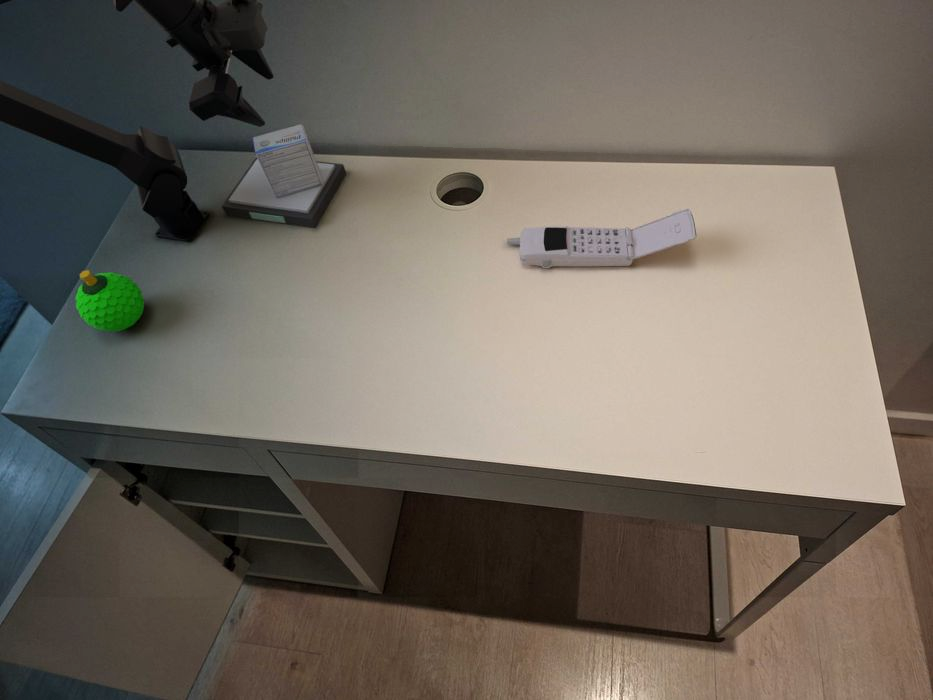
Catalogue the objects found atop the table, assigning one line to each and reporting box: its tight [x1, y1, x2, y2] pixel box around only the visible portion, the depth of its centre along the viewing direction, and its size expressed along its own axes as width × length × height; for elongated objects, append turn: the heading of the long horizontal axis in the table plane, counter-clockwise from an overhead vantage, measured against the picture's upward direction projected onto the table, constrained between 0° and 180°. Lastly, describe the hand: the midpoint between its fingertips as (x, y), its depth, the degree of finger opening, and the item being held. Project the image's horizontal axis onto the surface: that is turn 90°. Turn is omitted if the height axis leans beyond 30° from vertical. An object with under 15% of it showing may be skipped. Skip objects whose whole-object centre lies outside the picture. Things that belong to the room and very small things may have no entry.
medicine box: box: [252, 123, 323, 198], centre depth 92 cm, size 8×4×9 cm, turn 108°
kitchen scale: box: [221, 156, 347, 229], centre depth 97 cm, size 16×13×3 cm
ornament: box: [75, 269, 145, 333], centre depth 82 cm, size 8×8×10 cm
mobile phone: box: [506, 208, 697, 269], centre depth 82 cm, size 6×6×25 cm
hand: (267, 101), depth 87 cm, fingers open, 9 cm apart
